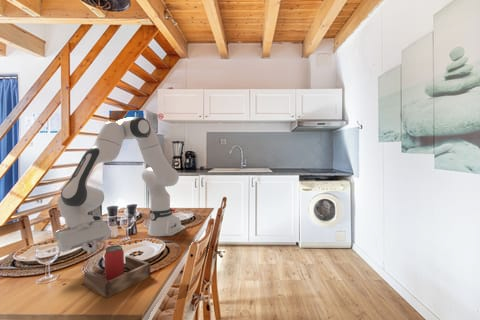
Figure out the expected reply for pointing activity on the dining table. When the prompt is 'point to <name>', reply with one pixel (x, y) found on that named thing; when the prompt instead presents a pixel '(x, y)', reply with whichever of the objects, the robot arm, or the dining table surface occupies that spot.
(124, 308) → the dining table surface
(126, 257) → the walnut corral
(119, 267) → the beer can
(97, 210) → the coffee box
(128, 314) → the dining table surface
